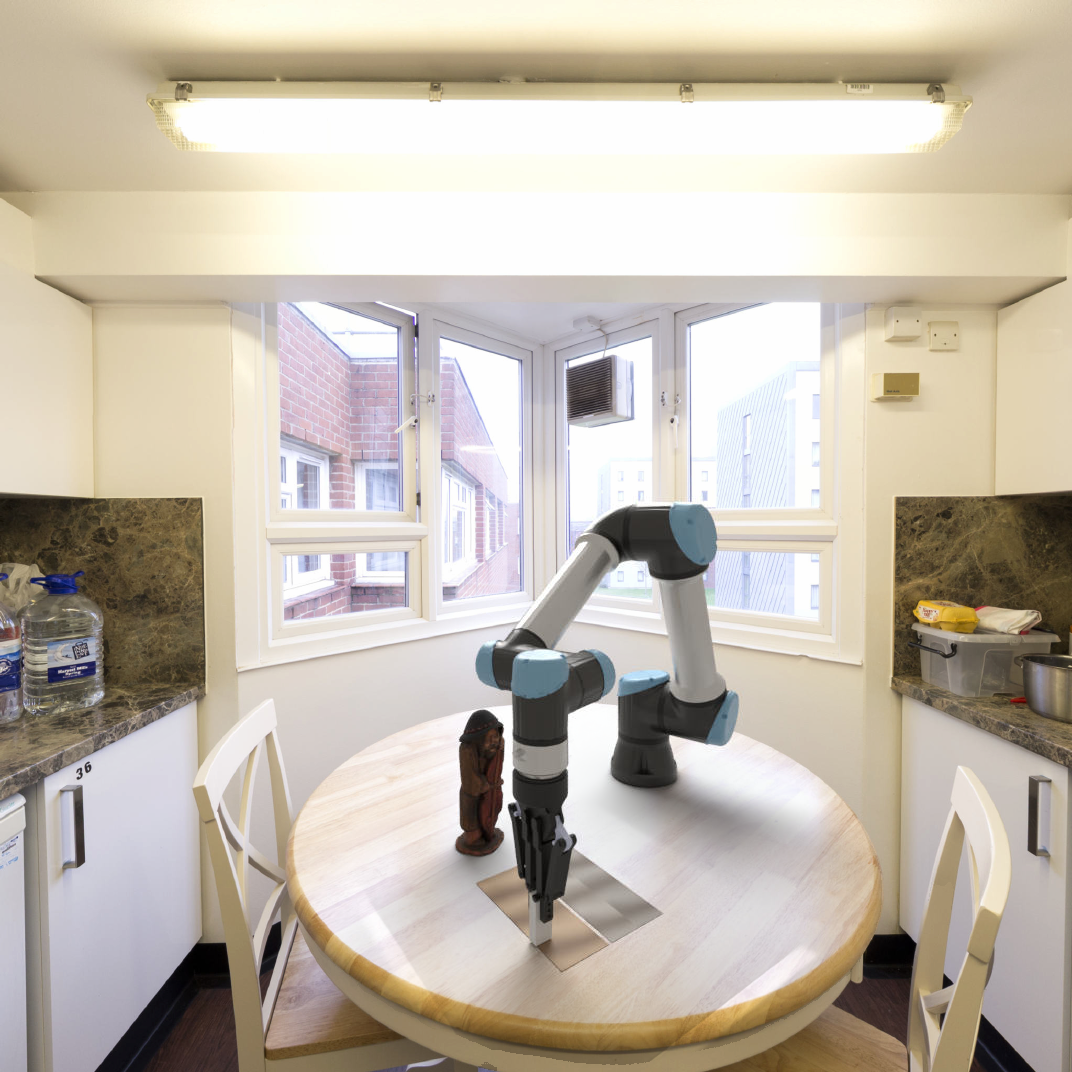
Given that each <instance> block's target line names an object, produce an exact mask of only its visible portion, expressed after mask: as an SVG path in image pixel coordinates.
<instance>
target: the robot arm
mask: <svg viewBox="0 0 1072 1072" xmlns="http://www.w3.org/2000/svg"><path fill="white" fill-rule="evenodd" d="M717 542H718V533H717V528H716V524H715V520H714V519H713V516H712V514H711V512H710V511H709V510H708V508H706V507H705V506H704V505H703V504H702V503H699V502H689V501H688V502H687V501H682V500H680V501H679V500H677V501H670V502H669V501H667V502H665V501H664V502H663V501H661V502H628V503H623V504H619V505H617V506H616V507H614V508H613V507H612V508H611V509H609V510H607V511H606V512H605V513H603V514H601V515H600V516H599V517H597V518H596V519H595V520H593V521H592V522H591V523H590V524H589V525H588V526H587V527H586V528H585V529H584V530H583V531H582V533H580V534H579V536H578V537H577V538H576V540H575V542H574V548H573V549H574V551H573V552H572V553H571V555H570V556H569V557H568V558H567V560H566V561H565V562H564V563H563V564H562V565H561V568H559V570H558V571H557V572H556V574H555V575H553V577H552V578H551V580H550V581H549V582H548V584H547V585H546V586H545V588H544V589H543V591H541V592H540V594H539V595H538V597H537V598H536V599H535V600H534V601H533V602H532V604H531V606H530V607H529V608H528V609H527V611H526V612H525V613H524V614H523V615H522V617H521V619H520V620H519V621H518V623H516V624H515V626H514V627H513V628H512V630H511V631H510V632H509V633H508V635H507V636H506V637H505V639H504V640H502V639H496V640H493V639H492V640H488V641H487V642H484V643H483V644H482V645H481V646H480V648H479V649H478V652H477V655H476V657H475V663H474V665H475V672H476V675H477V678H478V679H479V682H481V683H482V684H484V685H485V686H489V687H492V688H494V689H498V690H500V691H508V692H511V703H512V705H511V706H512V707H511V708H512V732H511V733H512V752H511V754H512V767H513V769H512V772H511V773H512V775H511V776H512V778H511V779H512V784H511V785H512V788H511V790H512V791H511V792H512V796H513V798H514V800H515V801H513V802H510V803H508V804H507V810H508V814H509V817H510V820H511V828H512V835H513V844H514V851H515V859H516V866H517V868H518V875H519V877H520V879H523V878H524V879H525V885H526V888H527V889H528V898H529V899H528V901H529V902H528V906H529V937H530V939H529V942H531V943H532V945H534V946H535V947H537V946H538V945H540V944H542V943H543V942H545V941H547V940H549V939H551V938H552V919H553V901H554V900H556V899H557V900H559V899H561V898H560V897H562V896H564V894H565V888H566V882H567V876H568V871H569V865H570V859H571V853H572V849H573V848H574V849H575V846H576V844H577V843H578V838H577V836H576V834H575V833H570V834H569V832H568V831H567V830H566V827H565V825H564V824H565V817H564V812H563V805H564V803H565V801H566V799H567V798H568V794H569V770H568V769H567V768H568V765H569V735H568V734H569V732H568V730H569V715H570V714H572V713H574V712H576V711H578V710H580V709H582V708H585V707H587V706H589V705H591V704H594V703H596V702H597V703H598V702H599V701H600V700H601V699H602V698H603V697H605V696H607V695H608V694H609V693H610V692H611V691H612V690H613V688H614V686H615V684H616V677H617V674H616V669H615V665H614V663H613V662H612V660H611V658H610V657H609V656H608V655H607V654H606V653H605V652H603V651H602V650H599V649H593V648H592V649H582V650H579V651H578V652H572V651H565V650H557V649H555V647H556V646H557V645H558V643H559V642H560V640H561V639H562V637H563V636H564V635H565V633H566V632H567V631H568V629H569V628H570V626H571V625H572V623H573V622H574V620H575V619H576V617H577V616H578V615H579V613H580V612H581V611H582V609H583V608H584V606H585V605H586V603H587V601H588V600H589V599H590V598H591V596H592V594H593V593H594V592H595V590H596V589H597V587H598V586H599V585H600V583H601V581H602V580H603V579H604V578H605V576H606V574H610V573H613V572H614V571H615V570H616V569H617V568H618V566H619V565H620V564H621V563H623V562H624V563H625V562H629V561H630V562H631V561H634V562H646V563H647V568H648V573H649V576H650V577H651V578H652V579H654V580H656V581H658V585H659V593H660V597H661V603H662V609H663V616H664V620H665V622H664V623H665V626H666V627H665V628H666V631H667V639H668V645H669V649H670V650H669V651H670V656H671V662H672V668H673V673H674V676H673V677H672V678H671V676H670V673H669V672H667V671H665V670H662V669H647V670H646V669H645V670H643V669H642V670H635V671H631V672H628V673H625V674H623V675H622V676H620V677H619V680H618V682H617V683H618V687H617V694H616V696H617V740H616V743H615V747H614V750H613V755H612V756H611V758H610V773H611V775H612V776H613V778H615V779H616V780H618V781H619V782H622V783H624V784H626V785H631V786H635V787H642V788H644V787H646V788H656V787H658V788H659V787H663V786H667V785H669V784H671V783H673V782H675V781H676V780H677V777H678V764H677V761H676V759H675V757H674V752H673V749H672V745H671V743H670V736H672V737H676V738H680V739H684V740H689V741H692V742H697V743H701V744H705V745H706V746H709V745H711V746H718V747H723V746H726V745H727V744H728V743H729V742H730V740H731V738H732V737H733V733H734V731H735V728H736V726H737V725H736V724H737V721H738V720H737V719H738V715H739V708H740V707H739V706H740V700H739V695H738V693H736V691H733V690H731V689H730V690H728V689H727V683H726V680H725V677H724V676H723V675H722V674H721V673H720V672H717V666H716V659H715V651H714V646H713V645H714V644H713V638H712V632H711V631H712V630H711V625H710V617H709V611H708V610H709V609H708V603H707V597H706V591H705V582H704V576H703V575H704V574H706V572H707V571H708V570H709V568H710V564H711V563H712V562H713V561H714V560H715V557H716V554H717V551H718V544H717ZM524 865H525V867H524Z"/></svg>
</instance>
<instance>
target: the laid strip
mask: <svg viewBox="0 0 1072 1072" xmlns="http://www.w3.org/2000/svg"><path fill="white" fill-rule="evenodd" d="M524 867H525V865H524ZM559 899H561V900H562V901H563V902H564V903H565V904H567V905H568V906H569V907H570V908H571V909H572V910H573V911H574V912H575V913H577V914H578V915H579V916H580V917H581V918H582V919H584V920H585V921H586V922H587V923H588V924H590V925H591V926H592V927H593V928H594V929H595V930H596V931H598V932H599V933H600V934H601V935H602V936H603V937H605V938H606V939H607V940H608V942H611V943H612V944H613V943H615V942H617V941H618V940H620V939H622V938H623V937H625V936H627V935H628V934H630V933H632V932H633V931H635V930H638V929H639V928H640V927H642V926H644V925H646V924H647V923H649V922H651V921H653V920H654V919H656V918H658V917H660V916H662V915H663V914H664V913H663V912H662V911H661V910H659V909H658V908H657V907H655V906H654V905H653V904H651V903H650V902H648V901H647V900H646V899H644V898H643V897H641V896H640V895H639V894H637V893H636V892H635V891H633V890H632V889H631V888H629V887H628V886H627V885H625V884H624V883H622V882H621V881H620V880H618V879H617V878H616V877H614V876H612V875H611V874H610V873H608V872H607V871H606V870H604V868H602V867H600V866H599V865H598V864H596V863H595V862H594V861H592V860H591V859H589V858H588V857H587V856H585V855H584V854H582V853H581V852H579V851H578V850H576V848H575V847H574V848H573V849H572V853H571V859H570V865H569V871H568V876H567V882H566V888H565V894H564V896H562V897H560V898H559Z"/></svg>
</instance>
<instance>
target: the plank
mask: <svg viewBox="0 0 1072 1072" xmlns="http://www.w3.org/2000/svg"><path fill="white" fill-rule="evenodd" d="M475 884H476V885H477V886H478V887H479V888H480V889H481V890H482V891H483V892H484V894H485V895H487V897H489V899H490V900H491V901H492V902H493V903H494V904H495V905H496V906H497V907H498V909H499V910H501V911H502V912H503V913H504V914H505V915H506V916H507V917H508V918H509V920H511V921H512V922H513V924H515V926H516V927H518V928H519V929H520V931H521V932H522V933H523V934H524V935H525V936H526V937H527V938H528V939H529V940H530V937H529V906H528V902H529V901H528V899H529V898H528V889H527V888H526V885H525V879H524V878H523V879H520V877H519V875H518V868H517V865H516V866H513V867H511V868H509V869H507V870H504V871H502V872H499V873H496V874H494V875H491V876H490V877H487V878H485V879H483V880H480V881H476V883H475ZM607 946H609V943H608V942H606V941H605V939H603V938H602V937H601V936H600V935H598V934H597V933H596V932H595V931H594V930H593V929H592V928H590V926H588V925H587V924H586V923H585V922H584V921H583V920H582V919H580V917H578V916H577V915H576V914H575V913H573V912H572V911H571V910H570V909H569V908H567V906H566V905H564V904H563V903H562V902H561V901H560V900H559V899H556V900H554V901H553V919H552V938H551V939H549V940H547V941H545V942H543V943H542V944H540V945H538V946H536V947H537V948H538V949H539V950H540V951H541V952H542V953H543V954H544V955H545V956H546V958H548V960H550V962H551V963H552V964H554V966H556V968H557V969H558V970H559V971H560V972H562V973H563V972H564V971H566V970H567V969H570V968H571V967H573V966H575V965H576V964H578V963H580V962H581V961H583V960H585V959H587V958H589V957H590V956H592V955H594V954H596V953H597V952H598V951H601V950H603V949H604V948H606V947H607Z"/></svg>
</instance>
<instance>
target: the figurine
mask: <svg viewBox="0 0 1072 1072" xmlns="http://www.w3.org/2000/svg"><path fill="white" fill-rule="evenodd" d="M504 731H505V727H504V723H502V722H501V721H500V720H499V719H498V717H496V715H495V714H493V713H492V712H491V711H490V710H488V709H477V710H476V711H475V710H474V711H473V713H472V714H471V715H470V716H469V718H468V720H467V722H466V724H465V727H464V730H463V732H462V734H461V735H460V737H459V739H458V742H459V743H460V744H459V747H458V758H459V759H458V760H459V762H458V763H459V772H460V773H459V775H460V776H459V777H460V783H461V784H460V787H459V793H458V794H459V795H458V796H459V798H458V799H459V800H458V801H459V803H458V805H459V826H460V829H461V830H463V832H462V833H461V834H460V835H458V836H457V838H455V839H456V840H455V849H456V851H458V853H460V854H463V855H465V856H468V857H469V856H470V857H486V856H488V855H491V854H493V853H495V852H496V851H497V850H498V849H499V847H500V846H501V844H502V843H503V842H504V840H505V832H504V831H503V830H502V829H501V828H499V827H496V825H497V823H498V820H499V816H500V813H501V812H502V809H503V804H504V792H503V789H502V788H503V785H504V784H505V780H504V779H503V778H502V775H503V769H504V761H505V747H506V744H505V743H506V741H505V738H504V736H503V735H504Z"/></svg>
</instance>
